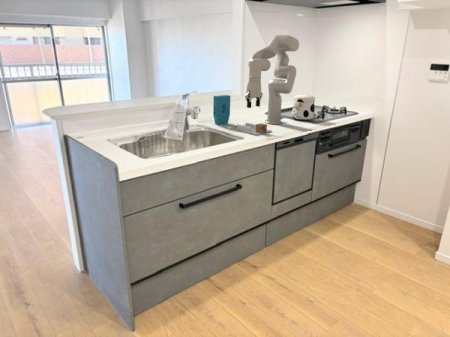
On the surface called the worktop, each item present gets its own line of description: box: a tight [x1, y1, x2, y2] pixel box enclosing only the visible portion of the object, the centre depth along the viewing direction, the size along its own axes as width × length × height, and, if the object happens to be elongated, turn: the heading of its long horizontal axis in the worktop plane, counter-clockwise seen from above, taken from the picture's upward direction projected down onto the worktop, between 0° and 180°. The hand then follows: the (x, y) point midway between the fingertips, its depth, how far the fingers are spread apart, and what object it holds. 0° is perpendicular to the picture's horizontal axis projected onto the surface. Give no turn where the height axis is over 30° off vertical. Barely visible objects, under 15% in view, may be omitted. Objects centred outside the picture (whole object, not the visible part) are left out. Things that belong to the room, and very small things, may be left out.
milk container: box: [291, 94, 316, 122], centre depth 261 cm, size 17×17×18 cm
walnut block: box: [255, 122, 268, 133], centre depth 217 cm, size 5×5×5 cm
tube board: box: [229, 122, 273, 137], centre depth 224 cm, size 16×24×3 cm, turn 45°
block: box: [212, 94, 231, 126], centre depth 239 cm, size 12×5×20 cm, turn 125°
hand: (253, 106), depth 219 cm, fingers open, 8 cm apart
